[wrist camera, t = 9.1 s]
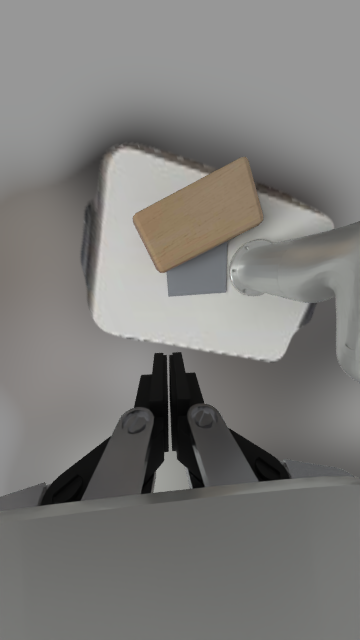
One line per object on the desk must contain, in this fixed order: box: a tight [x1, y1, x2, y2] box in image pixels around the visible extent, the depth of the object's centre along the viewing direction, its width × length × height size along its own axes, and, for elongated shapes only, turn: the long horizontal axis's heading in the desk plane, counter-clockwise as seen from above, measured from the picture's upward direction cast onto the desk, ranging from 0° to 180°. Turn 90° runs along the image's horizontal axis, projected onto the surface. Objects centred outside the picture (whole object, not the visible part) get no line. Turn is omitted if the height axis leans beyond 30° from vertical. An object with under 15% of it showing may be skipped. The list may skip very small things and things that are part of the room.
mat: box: [167, 241, 227, 296], centre depth 38 cm, size 14×16×1 cm
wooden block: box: [133, 157, 263, 273], centre depth 31 cm, size 10×10×20 cm
